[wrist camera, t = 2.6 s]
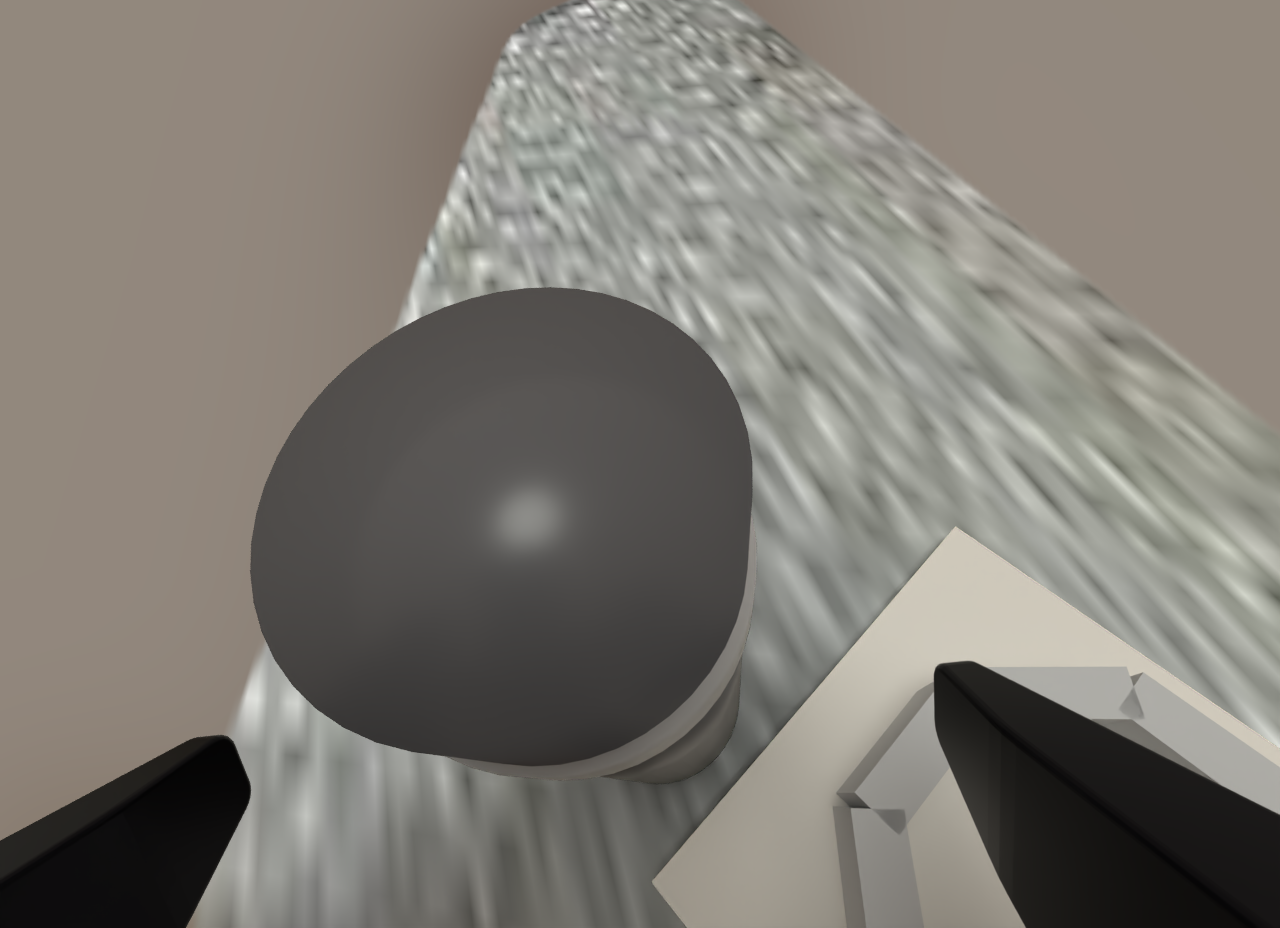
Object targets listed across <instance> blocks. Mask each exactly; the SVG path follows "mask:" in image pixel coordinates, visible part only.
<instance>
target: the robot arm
mask: <svg viewBox="0 0 1280 928" xmlns="http://www.w3.org/2000/svg"><path fill="white" fill-rule="evenodd" d="M934 721H935V729H936V733H937V737H938V740H939V743H940V745H941V748H942V750H943V752H944V755H945V757H946V759H947V762H948V764H949V766H950V768H951V771H952V773H953V775H954V778H955V780H956V782H957V784H958V787H959V789H960V791H961V794H962V796H963V798H964V801H965V803H966V805H967V807H968V810H969V812H970V814H971V817H972V819H973V821H974V823H975V826H976V828H977V830H978V833H979V835H980V837H981V840H982V842H983V844H984V846H985V849H986V851H987V853H988V856H989V858H990V860H991V862H992V864H993V866H994V869H995V871H996V873H997V875H998V877H999V879H1000V881H1001V883H1002V885H1003V887H1004V889H1005V891H1006V893H1007V895H1008V896H1009V898H1010V900H1011V902H1012V904H1013V906H1014V908H1015V909H1016V911H1017V913H1018V915H1019V917H1020V918H1021V920H1022V922H1023V924H1024V926H1025V927H1026V928H1280V814H1278V813H1276V812H1274V811H1272V810H1270V809H1268V808H1266V807H1264V806H1262V805H1260V804H1258V803H1256V802H1254V801H1252V800H1250V799H1248V798H1246V797H1244V796H1242V795H1240V794H1238V793H1236V792H1234V791H1232V790H1230V789H1228V788H1226V787H1224V786H1222V785H1220V784H1218V783H1216V782H1214V781H1212V780H1210V779H1208V778H1206V777H1204V776H1202V775H1200V774H1198V773H1196V772H1194V771H1192V770H1190V769H1188V768H1186V767H1184V766H1182V765H1180V764H1178V763H1176V762H1174V761H1172V760H1170V759H1168V758H1166V757H1164V756H1162V755H1160V754H1158V753H1156V752H1154V751H1152V750H1150V749H1148V748H1146V747H1144V746H1142V745H1140V744H1138V743H1136V742H1134V741H1132V740H1130V739H1128V738H1126V737H1124V736H1122V735H1120V734H1118V733H1116V732H1114V731H1112V730H1110V729H1108V728H1106V727H1104V726H1102V725H1100V724H1098V723H1096V722H1094V721H1092V720H1090V719H1088V718H1086V717H1084V716H1082V715H1080V714H1078V713H1076V712H1074V711H1072V710H1070V709H1068V708H1066V707H1064V706H1062V705H1060V704H1058V703H1056V702H1054V701H1052V700H1050V699H1048V698H1046V697H1044V696H1042V695H1040V694H1038V693H1036V692H1034V691H1032V690H1030V689H1029V688H1027V687H1025V686H1023V685H1021V684H1019V683H1017V682H1015V681H1013V680H1011V679H1009V678H1007V677H1005V676H1003V675H1001V674H999V673H997V672H995V671H993V670H991V669H989V668H987V667H985V666H983V665H981V664H979V663H976V662H974V661H958V662H948V663H940V664H939V665H937V666H936V667H935V671H934ZM250 795H251V785H250V781H249V779H248V776H247V774H246V771H245V769H244V766H243V764H242V761H241V759H240V756H239V754H238V751H237V749H236V746H235V744H234V742H233V741H232V740H231V739H230V738H229V737H228V736H224V735H214V736H205V737H196V738H193V739H190V740H188V741H186V742H184V743H182V744H180V745H178V746H177V747H175V748H173V749H171V750H169V751H167V752H165V753H164V754H162V755H160V756H158V757H156V758H154V759H152V760H151V761H149V762H147V763H145V764H143V765H141V766H139V767H137V768H135V769H134V770H132V771H130V772H128V773H126V774H124V775H122V776H120V777H119V778H117V779H115V780H113V781H111V782H109V783H107V784H105V785H104V786H102V787H100V788H98V789H96V790H94V791H92V792H90V793H89V794H87V795H85V796H83V797H81V798H79V799H77V800H75V801H74V802H72V803H70V804H68V805H66V806H65V807H62V808H61V809H59V810H57V811H55V812H53V813H51V814H49V815H47V816H46V817H44V818H42V819H40V820H38V821H36V822H34V823H33V824H31V825H29V826H27V827H25V828H23V829H21V830H19V831H17V832H16V833H14V834H12V835H10V836H8V837H6V838H4V839H3V840H1V841H0V928H186V927H187V925H188V923H189V921H190V919H191V917H192V915H193V913H194V911H195V909H196V907H197V905H198V903H199V901H200V899H201V898H202V896H203V894H204V892H205V890H206V888H207V886H208V884H209V882H210V880H211V878H212V876H213V874H214V872H215V870H216V868H217V866H218V864H219V862H220V860H221V858H222V856H223V854H224V852H225V850H226V848H227V846H228V844H229V842H230V840H231V838H232V836H233V834H234V832H235V830H236V828H237V826H238V824H239V822H240V820H241V818H242V816H243V814H244V812H245V810H246V808H247V806H248V804H249V800H250Z"/></svg>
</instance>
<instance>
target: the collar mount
mask: <svg viewBox="0 0 1280 928" xmlns="http://www.w3.org/2000/svg"><path fill="white" fill-rule="evenodd" d="M958 661H974V662H976V663H979V664H981V665H983V666H985V667H987V668H989V669H991V670H993V671H995V672H997V673H999V674H1001V675H1003V676H1005V677H1007V678H1009V679H1011V680H1013V681H1015V682H1017V683H1019V684H1021V685H1023V686H1025V687H1027V688H1029V689H1030V690H1032V691H1034V692H1036V693H1038V694H1040V695H1042V696H1044V697H1046V698H1048V699H1050V700H1052V701H1054V702H1056V703H1058V704H1060V705H1062V706H1064V707H1066V708H1068V709H1070V710H1072V711H1074V712H1076V713H1078V714H1080V715H1082V716H1084V717H1086V718H1088V719H1090V720H1092V721H1094V722H1096V723H1098V724H1100V725H1102V726H1104V727H1106V728H1108V729H1110V730H1112V731H1114V732H1116V733H1118V734H1120V735H1122V736H1124V737H1126V738H1128V739H1130V740H1132V741H1134V742H1136V743H1138V744H1140V745H1142V746H1144V747H1146V748H1148V749H1150V750H1152V751H1154V752H1156V753H1158V754H1160V755H1162V756H1164V757H1166V758H1168V759H1170V760H1172V761H1174V762H1176V763H1178V764H1180V765H1182V766H1184V767H1186V768H1188V769H1190V770H1192V771H1194V772H1196V773H1198V774H1200V775H1202V776H1204V777H1206V778H1208V779H1210V780H1212V781H1214V782H1216V783H1218V784H1220V785H1222V786H1224V787H1226V788H1228V789H1230V790H1232V791H1234V792H1236V793H1238V794H1240V795H1242V796H1244V797H1246V798H1248V799H1250V800H1252V801H1254V802H1256V803H1258V804H1260V805H1262V806H1264V807H1266V808H1268V809H1270V810H1272V811H1274V812H1276V813H1278V814H1280V748H1278V747H1277V746H1276V745H1274V744H1273V743H1271V742H1270V741H1268V740H1267V739H1265V738H1264V737H1262V736H1261V735H1259V734H1258V733H1257V732H1255V731H1254V730H1252V729H1251V728H1249V727H1248V726H1246V725H1245V724H1243V723H1242V722H1240V721H1239V720H1238V719H1236V718H1235V717H1233V716H1232V715H1230V714H1229V713H1227V712H1226V711H1224V710H1223V709H1221V708H1220V707H1219V706H1217V705H1216V704H1214V703H1213V702H1211V701H1210V700H1208V699H1207V698H1205V697H1204V696H1202V695H1201V694H1200V693H1198V692H1197V691H1195V690H1194V689H1192V688H1191V687H1189V686H1188V685H1186V684H1185V683H1183V682H1182V681H1181V680H1179V679H1178V678H1176V677H1175V676H1173V675H1172V674H1170V673H1169V672H1167V671H1166V670H1165V669H1163V668H1162V667H1160V666H1159V665H1157V664H1156V663H1154V662H1153V661H1151V660H1150V659H1148V658H1147V657H1146V656H1144V655H1143V654H1141V653H1140V652H1138V651H1137V650H1135V649H1134V648H1132V647H1131V646H1129V645H1128V644H1127V643H1125V642H1124V641H1122V640H1121V639H1119V638H1118V637H1116V636H1115V635H1113V634H1112V633H1110V632H1109V631H1108V630H1106V629H1105V628H1103V627H1102V626H1100V625H1099V624H1097V623H1096V622H1094V621H1093V620H1091V619H1090V618H1089V617H1087V616H1086V615H1084V614H1083V613H1081V612H1080V611H1078V610H1077V609H1075V608H1074V607H1072V606H1071V605H1070V604H1068V603H1067V602H1065V601H1064V600H1062V599H1061V598H1059V597H1058V596H1056V595H1055V594H1053V593H1052V592H1051V591H1049V590H1048V589H1046V588H1045V587H1043V586H1042V585H1040V584H1039V583H1037V582H1036V581H1034V580H1033V579H1032V578H1030V577H1029V576H1027V575H1026V574H1024V573H1023V572H1021V571H1020V570H1018V569H1017V568H1015V567H1014V566H1013V565H1011V564H1010V563H1008V562H1007V561H1005V560H1004V559H1002V558H1001V557H999V556H998V555H996V554H995V553H994V552H992V551H991V550H989V549H988V548H986V547H985V546H983V545H982V544H980V543H979V542H977V541H976V540H975V539H973V538H972V537H970V536H969V535H967V534H966V533H964V532H963V531H961V530H960V529H958V528H957V527H956V526H955V527H954V529H953V530H952V531H951V532H950V533H949V534H948V536H947V537H946V538H945V539H944V540H943V542H942V543H941V544H940V545H939V546H938V547H937V549H936V550H935V551H934V552H933V553H932V554H931V556H930V557H929V558H928V559H927V560H926V561H925V563H924V564H923V565H922V566H921V567H920V568H919V570H918V571H917V572H916V573H915V574H914V575H913V577H912V578H911V579H910V580H909V581H908V582H907V584H906V585H905V586H904V587H903V588H902V589H901V591H900V592H899V593H898V594H897V595H896V596H895V598H894V599H893V600H892V601H891V602H890V604H889V605H888V606H887V607H886V608H885V609H884V611H883V612H882V613H881V614H880V615H879V616H878V618H877V619H876V620H875V621H874V622H873V623H872V625H871V626H870V627H869V628H868V629H867V630H866V632H865V633H864V634H863V635H862V636H861V637H860V639H859V640H858V641H857V642H856V643H855V644H854V646H853V647H852V648H851V649H850V650H849V651H848V653H847V654H846V655H845V656H844V657H843V658H842V660H841V661H840V662H839V663H838V664H837V665H836V667H835V668H834V669H833V670H832V671H831V673H830V674H829V675H828V676H827V677H826V678H825V680H824V681H823V682H822V683H821V684H820V685H819V687H818V688H817V689H816V690H815V691H814V692H813V694H812V695H811V696H810V697H809V698H808V699H807V701H806V702H805V703H804V704H803V705H802V706H801V708H800V709H799V710H798V711H797V712H796V713H795V715H794V716H793V717H792V718H791V719H790V720H789V722H788V723H787V724H786V725H785V726H784V727H783V729H782V730H781V731H780V732H779V733H778V735H777V736H776V737H775V738H774V739H773V740H772V742H771V743H770V744H769V745H768V746H767V747H766V749H765V750H764V751H763V752H762V753H761V754H760V756H759V757H758V758H757V759H756V760H755V761H754V763H753V764H752V765H751V766H750V767H749V768H748V770H747V771H746V772H745V773H744V774H743V775H742V777H741V778H740V779H739V780H738V781H737V782H736V784H735V785H734V786H733V787H732V788H731V789H730V791H729V792H728V793H727V794H726V795H725V797H724V798H723V799H722V800H721V801H720V802H719V804H718V805H717V806H716V807H715V808H714V809H713V811H712V812H711V813H710V814H709V815H708V816H707V818H706V819H705V820H704V821H703V822H702V823H701V825H700V826H699V827H698V828H697V829H696V830H695V832H694V833H693V834H692V835H691V836H690V837H689V839H688V840H687V841H686V842H685V843H684V844H683V846H682V847H681V848H680V849H679V850H678V851H677V853H676V854H675V855H674V856H673V857H672V858H671V860H670V861H669V862H668V863H667V864H666V866H665V867H664V868H663V869H662V870H661V871H660V873H659V874H658V875H657V876H656V877H655V878H654V880H653V881H652V884H653V885H654V886H655V887H656V889H657V890H658V891H659V893H660V894H661V895H662V896H663V898H664V899H665V900H666V902H667V903H668V904H669V905H670V907H671V908H672V909H673V911H674V912H675V913H676V914H677V916H678V917H679V918H680V920H681V921H682V922H683V923H684V925H685V926H686V927H687V928H1026V927H1025V926H1024V924H1023V922H1022V920H1021V918H1020V917H1019V915H1018V913H1017V911H1016V909H1015V908H1014V906H1013V904H1012V902H1011V900H1010V898H1009V896H1008V895H1007V893H1006V891H1005V889H1004V887H1003V885H1002V883H1001V881H1000V879H999V877H998V875H997V873H996V871H995V869H994V866H993V864H992V862H991V860H990V858H989V856H988V853H987V851H986V849H985V846H984V844H983V842H982V840H981V837H980V835H979V833H978V830H977V828H976V826H975V823H974V821H973V819H972V817H971V814H970V812H969V810H968V807H967V805H966V803H965V801H964V798H963V796H962V794H961V791H960V789H959V787H958V784H957V782H956V780H955V778H954V775H953V773H952V771H951V768H950V766H949V764H948V762H947V759H946V757H945V755H944V752H943V750H942V748H941V745H940V743H939V740H938V737H937V733H936V729H935V721H934V671H935V667H936V666H937V665H939V664H940V663H948V662H958Z"/></svg>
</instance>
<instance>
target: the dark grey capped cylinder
mask: <svg viewBox="0 0 1280 928" xmlns="http://www.w3.org/2000/svg"><path fill="white" fill-rule="evenodd" d="M751 507H752V456H751V450H750V444H749V438H748V431H747V428H746V425H745V422H744V419H743V416H742V413H741V410H740V407H739V404H738V402H737V400H736V398H735V396H734V394H733V392H732V390H731V388H730V386H729V384H728V382H727V380H726V378H725V377H724V376H723V374H722V373H721V371H720V370H719V369H718V367H717V366H716V364H715V363H714V362H713V360H712V359H711V357H710V356H709V355H708V354H707V353H706V352H705V351H704V350H703V349H702V348H701V347H700V346H699V345H698V344H697V343H696V342H695V341H694V340H693V339H692V338H691V337H689V336H688V335H687V334H686V333H684V332H683V331H682V330H681V329H679V328H678V327H677V326H675V325H674V324H673V323H671V322H669V321H668V320H666V319H664V318H663V317H661V316H659V315H657V314H656V313H654V312H652V311H651V310H648V309H646V308H644V307H641V306H639V305H637V304H634V303H632V302H629V301H627V300H624V299H620V298H617V297H613V296H610V295H606V294H603V293H597V292H591V291H585V290H580V289H568V288H551V287H550V288H525V289H517V290H510V291H503V292H497V293H492V294H488V295H484V296H480V297H475V298H471V299H468V300H465V301H462V302H459V303H456V304H453V305H450V306H447V307H444V308H442V309H440V310H438V311H435V312H433V313H431V314H428V315H426V316H424V317H421V318H419V319H417V320H416V321H414V322H412V323H410V324H408V325H406V326H405V327H403V328H401V329H399V330H397V331H395V332H394V333H392V334H391V335H389V336H388V337H386V338H385V339H383V340H382V341H380V342H379V343H377V344H376V345H374V346H373V347H371V348H370V349H369V350H367V351H366V352H365V353H364V354H362V355H361V356H360V357H359V358H357V359H356V360H355V361H354V362H352V363H351V364H350V365H349V366H348V367H347V368H346V369H344V370H343V371H342V372H341V373H340V375H338V376H337V377H336V378H335V379H334V380H333V381H332V382H331V383H330V384H329V385H328V386H327V387H326V388H325V389H324V390H323V392H322V393H321V394H320V395H319V396H318V397H317V398H316V400H315V401H314V402H313V403H312V404H311V405H310V407H309V408H308V409H307V411H306V412H305V413H304V415H303V416H302V418H301V419H300V421H299V422H298V423H297V425H296V426H295V427H294V429H293V430H292V432H291V433H290V435H289V437H288V439H287V440H286V442H285V444H284V446H283V447H282V449H281V451H280V453H279V455H278V456H277V458H276V461H275V463H274V465H273V468H272V470H271V472H270V474H269V477H268V479H267V481H266V484H265V487H264V490H263V493H262V496H261V500H260V503H259V507H258V510H257V513H256V519H255V525H254V530H253V536H252V543H251V570H250V573H251V583H252V591H253V599H254V605H255V609H256V613H257V616H258V620H259V624H260V627H261V631H262V633H263V636H264V638H265V640H266V642H267V644H268V646H269V648H270V651H271V653H272V655H273V657H274V659H275V661H276V662H277V664H278V665H279V667H280V668H281V669H282V671H283V672H284V674H285V675H286V677H287V678H288V679H289V681H290V682H291V684H292V685H293V686H294V687H295V688H296V689H297V690H298V691H299V692H300V693H301V694H302V695H303V696H304V697H305V698H306V699H307V700H308V701H309V702H310V703H311V704H312V705H313V706H314V707H315V708H316V709H317V710H319V711H320V712H322V713H323V714H325V715H326V716H327V717H329V718H330V719H332V720H333V721H335V722H336V723H338V724H339V725H341V726H342V727H343V728H345V729H348V730H350V731H352V732H354V733H357V734H359V735H361V736H363V737H365V738H368V739H370V740H372V741H374V742H377V743H380V744H384V745H388V746H392V747H396V748H400V749H403V750H407V751H411V752H418V753H425V754H433V755H440V756H446V757H448V758H451V759H453V760H455V761H457V762H460V763H462V764H464V765H466V766H469V767H471V768H474V769H478V770H482V771H486V772H490V773H494V774H497V775H504V776H514V777H524V778H536V779H548V780H560V781H562V780H580V779H590V778H595V777H605V778H612V779H620V780H627V781H635V782H642V783H652V784H667V783H673V782H678V781H681V780H684V779H686V778H689V777H691V776H693V775H695V774H697V773H699V772H700V771H702V770H703V769H704V768H706V767H707V766H708V765H710V764H711V763H712V762H713V761H714V760H715V759H716V758H717V757H718V755H719V754H720V753H721V751H722V750H723V749H724V747H725V746H726V744H727V742H728V740H729V739H730V737H731V734H732V732H733V729H734V727H735V723H736V719H737V716H738V708H739V697H740V682H741V666H742V653H743V650H744V647H745V644H746V640H747V636H748V633H749V629H750V625H751V618H752V610H753V602H754V593H755V583H756V574H757V543H756V536H755V530H754V523H753V517H752V514H751Z"/></svg>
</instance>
